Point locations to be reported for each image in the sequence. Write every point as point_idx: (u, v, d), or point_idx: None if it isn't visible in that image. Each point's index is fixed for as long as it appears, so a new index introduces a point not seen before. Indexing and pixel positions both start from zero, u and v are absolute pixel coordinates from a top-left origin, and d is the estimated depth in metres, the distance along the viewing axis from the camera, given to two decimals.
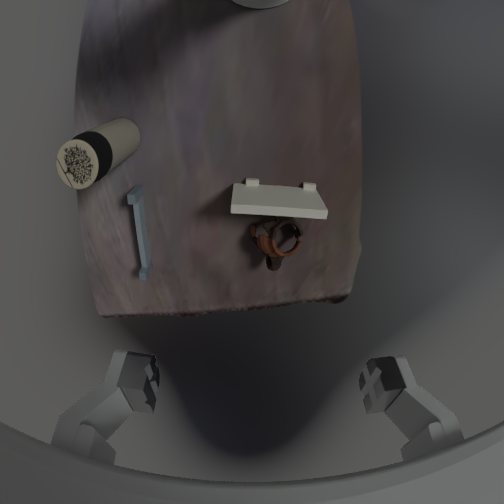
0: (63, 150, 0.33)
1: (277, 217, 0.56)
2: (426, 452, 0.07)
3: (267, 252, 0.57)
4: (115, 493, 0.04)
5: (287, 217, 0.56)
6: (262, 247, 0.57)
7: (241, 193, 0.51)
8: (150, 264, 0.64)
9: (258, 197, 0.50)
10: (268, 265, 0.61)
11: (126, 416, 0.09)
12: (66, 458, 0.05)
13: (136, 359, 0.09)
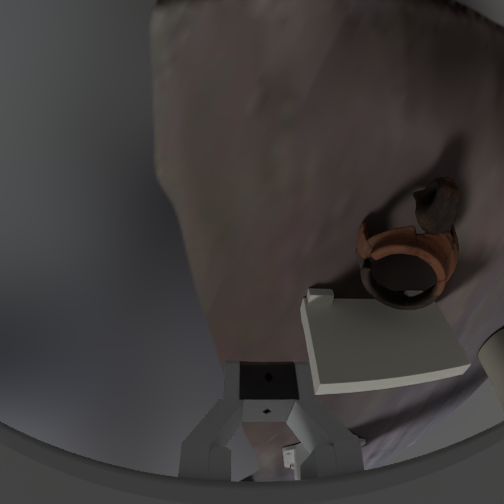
0: None
1: None
2: (312, 476, 0.06)
3: (454, 251, 0.19)
4: (115, 493, 0.04)
5: None
6: (456, 259, 0.20)
7: None
8: None
9: None
10: None
11: (236, 428, 0.09)
12: (66, 458, 0.05)
13: (252, 369, 0.09)
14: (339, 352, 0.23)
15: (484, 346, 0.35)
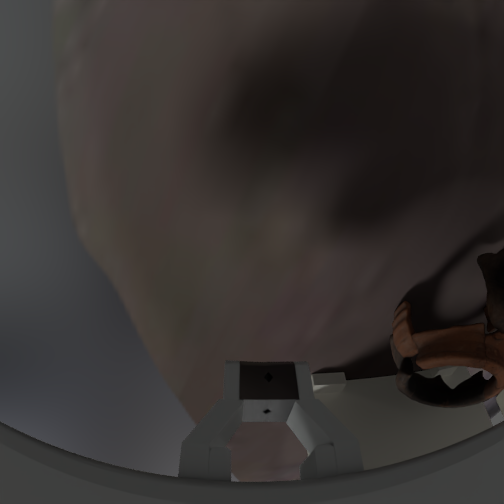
0: None
1: None
2: (312, 477, 0.06)
3: None
4: (115, 493, 0.04)
5: None
6: None
7: None
8: None
9: None
10: None
11: (236, 428, 0.09)
12: (66, 458, 0.05)
13: (252, 369, 0.09)
14: None
15: None
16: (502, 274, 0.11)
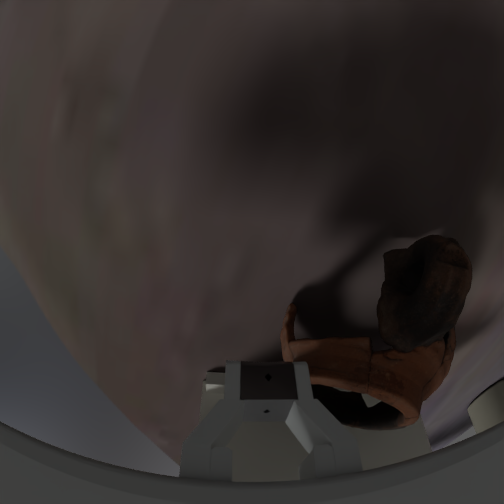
0: None
1: None
2: (311, 477, 0.06)
3: (444, 366, 0.10)
4: (115, 493, 0.04)
5: None
6: (448, 369, 0.11)
7: None
8: None
9: None
10: None
11: (237, 428, 0.09)
12: (66, 458, 0.05)
13: (253, 369, 0.09)
14: (232, 472, 0.14)
15: (476, 402, 0.26)
16: (411, 275, 0.11)
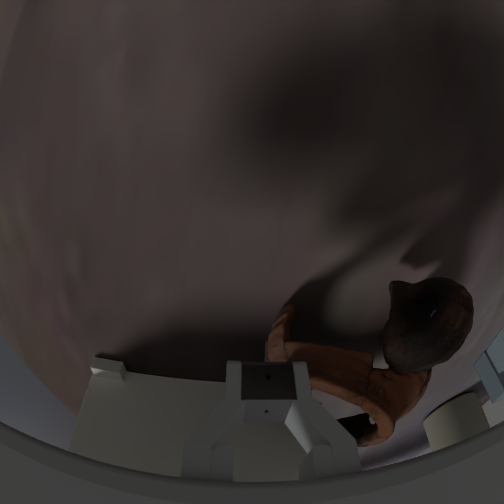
0: None
1: None
2: (310, 477, 0.06)
3: (420, 395, 0.11)
4: (115, 493, 0.04)
5: None
6: None
7: None
8: None
9: None
10: None
11: (238, 428, 0.09)
12: (66, 458, 0.05)
13: (254, 369, 0.09)
14: (98, 451, 0.13)
15: (430, 417, 0.26)
16: (414, 307, 0.12)
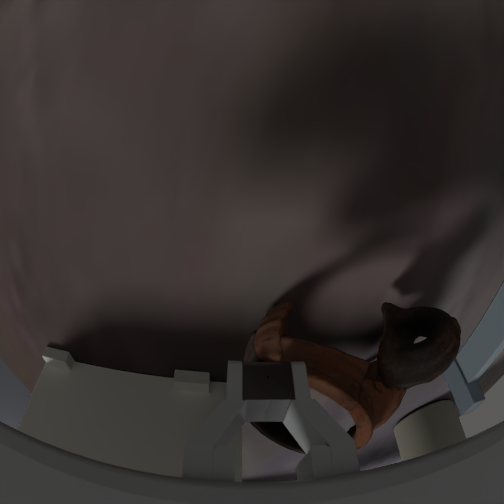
0: None
1: None
2: (308, 477, 0.06)
3: (392, 413, 0.12)
4: (115, 493, 0.04)
5: None
6: None
7: None
8: None
9: None
10: None
11: (239, 429, 0.09)
12: (66, 458, 0.05)
13: (255, 369, 0.09)
14: (42, 432, 0.13)
15: (400, 424, 0.26)
16: (404, 330, 0.13)
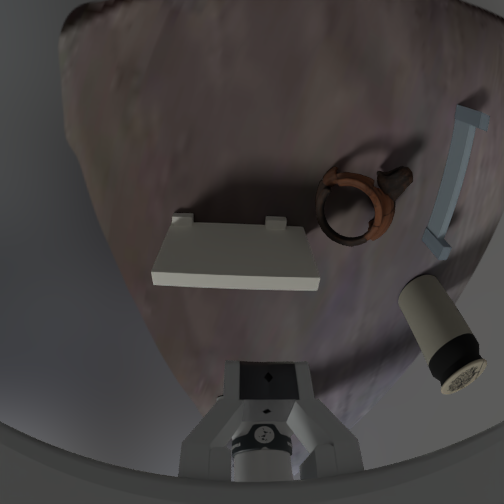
0: (464, 386, 0.29)
1: None
2: (312, 476, 0.06)
3: (390, 216, 0.29)
4: (115, 493, 0.04)
5: None
6: (388, 225, 0.30)
7: None
8: (460, 116, 0.26)
9: None
10: None
11: (236, 428, 0.09)
12: (66, 458, 0.05)
13: (252, 369, 0.09)
14: (179, 254, 0.29)
15: (402, 293, 0.42)
16: None
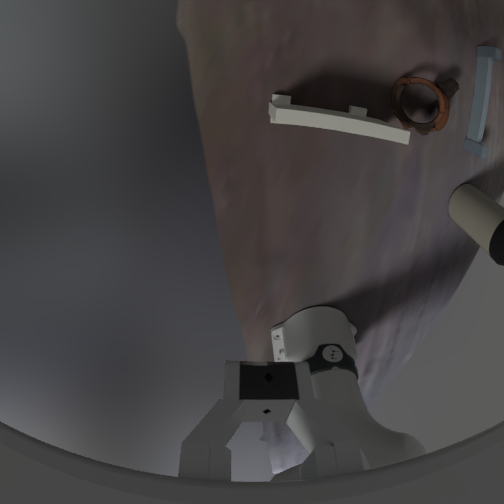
0: None
1: (408, 127, 0.34)
2: (312, 476, 0.06)
3: (448, 110, 0.30)
4: (115, 493, 0.04)
5: (399, 115, 0.34)
6: (447, 119, 0.31)
7: None
8: (480, 53, 0.28)
9: None
10: None
11: (236, 428, 0.09)
12: (66, 458, 0.05)
13: (252, 369, 0.09)
14: (293, 107, 0.31)
15: (451, 198, 0.43)
16: None
